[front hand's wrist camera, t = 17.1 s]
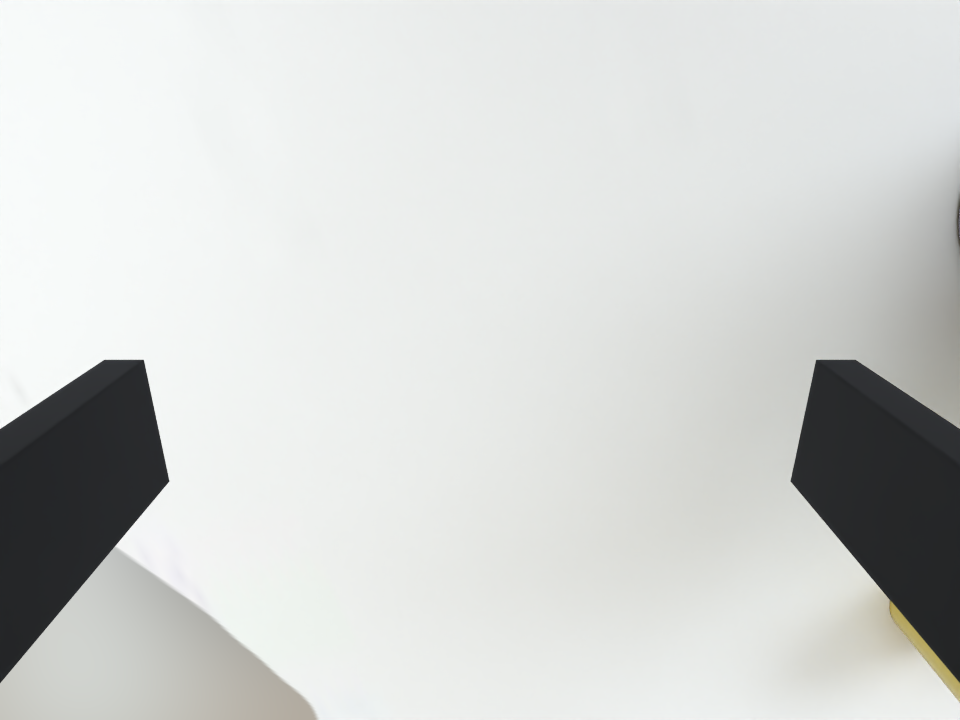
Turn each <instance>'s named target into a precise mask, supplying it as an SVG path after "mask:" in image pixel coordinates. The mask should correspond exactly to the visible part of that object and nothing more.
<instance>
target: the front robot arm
mask: <svg viewBox="0 0 960 720" xmlns="http://www.w3.org/2000/svg"><path fill="white" fill-rule="evenodd" d="M958 225H959V238H960V209H959V221H958ZM168 482H169V478H168V473H167V468H166V463H165V459H164V454H163V449H162V444H161V440H160V435H159V430H158V425H157V421H156V416H155V411H154V406H153V402H152V397H151V392H150V387H149V383H148V378H147V373H146V368H145V364H144V360H104V361H102V362H101V363H99V364H98V365H96V366H95V367H93V368H92V369H90V370H89V371H87V372H86V373H84V374H83V375H81V376H80V377H78V378H77V379H75V380H73V381H72V382H70V383H69V384H67V385H66V386H64V387H63V388H61V389H60V390H58V391H57V392H55V393H54V394H52V395H51V396H49V397H48V398H46V399H45V400H43V401H42V402H40V403H39V404H37V405H36V406H34V407H33V408H31V409H30V410H28V411H27V412H25V413H24V414H22V415H21V416H19V417H18V418H16V419H15V420H13V421H12V422H10V423H9V424H7V425H6V426H4V427H3V428H1V429H0V683H1V681H2V680H3V679H4V678H5V677H6V675H7V674H8V673H9V672H10V671H11V670H12V668H13V667H14V666H15V665H16V664H17V662H18V661H19V660H20V659H21V658H22V656H23V655H24V654H25V653H26V652H27V650H28V649H29V648H30V647H31V646H32V644H33V643H34V642H35V641H36V640H37V638H38V637H39V636H40V635H41V634H42V633H43V631H44V630H45V629H46V628H47V627H48V625H49V624H50V623H51V622H52V621H53V619H54V618H55V617H56V616H57V615H58V613H59V612H60V611H61V610H62V609H63V607H64V606H65V605H66V604H67V603H68V602H69V600H70V599H71V598H72V597H73V596H74V594H75V593H76V592H77V591H78V590H79V588H80V587H81V586H82V585H83V584H84V582H85V581H86V580H87V579H88V578H89V577H90V575H91V574H92V573H93V572H94V571H95V569H96V568H97V567H98V566H99V565H100V563H101V562H102V561H103V560H104V559H105V557H106V556H107V555H108V554H109V553H110V551H111V550H112V549H113V548H114V547H115V546H116V544H117V543H118V542H119V541H120V540H121V538H122V537H123V536H124V535H125V534H126V532H127V531H128V530H129V529H130V528H131V526H132V525H133V524H134V523H135V522H136V520H137V519H138V518H139V517H140V516H141V514H142V513H143V512H144V511H145V510H146V509H147V507H148V506H149V505H150V504H151V503H152V501H153V500H154V499H155V498H156V497H157V495H158V494H159V493H160V492H161V491H162V489H163V488H164V487H165V486H166V485H167V483H168ZM791 482H792V483H793V485H794V486H795V487H796V488H797V489H798V491H799V492H800V493H801V494H802V495H803V497H804V498H805V499H806V500H807V501H808V503H809V504H810V505H811V506H812V507H813V509H814V510H815V511H816V512H817V513H818V514H819V516H820V517H821V518H822V519H823V520H824V522H825V523H826V524H827V525H828V526H829V528H830V529H831V530H832V531H833V532H834V534H835V535H836V536H837V537H838V538H839V540H840V541H841V542H842V543H843V544H844V546H845V547H846V548H847V549H848V550H849V551H850V553H851V554H852V555H853V556H854V557H855V559H856V560H857V561H858V562H859V563H860V565H861V566H862V567H863V568H864V569H865V571H866V572H867V573H868V574H869V575H870V577H871V578H872V579H873V580H874V581H875V582H876V584H877V585H878V586H879V587H880V588H881V590H882V591H883V592H884V593H885V594H886V596H887V597H888V598H889V599H890V600H891V602H892V603H893V604H894V605H895V606H896V608H897V609H898V610H899V611H900V612H901V614H902V615H903V616H904V617H905V618H906V619H907V621H908V622H909V623H910V624H911V625H912V627H913V628H914V629H915V630H916V631H917V633H918V634H919V635H920V636H921V637H922V639H923V640H924V641H925V642H926V643H927V645H928V646H929V647H930V648H931V649H932V650H933V652H934V653H935V654H936V655H937V656H938V658H939V659H940V660H941V661H942V662H943V664H944V665H945V666H946V667H947V668H948V670H949V671H950V672H951V673H952V674H953V676H954V677H955V678H956V679H957V680H958V681H959V683H960V429H959V428H957V427H956V426H954V425H953V424H951V423H950V422H948V421H947V420H945V419H944V418H942V417H941V416H939V415H938V414H936V413H935V412H933V411H932V410H930V409H929V408H927V407H926V406H924V405H923V404H921V403H920V402H918V401H917V400H915V399H914V398H912V397H911V396H909V395H908V394H906V393H905V392H903V391H902V390H900V389H899V388H897V387H896V386H894V385H893V384H891V383H890V382H888V381H887V380H885V379H883V378H882V377H880V376H879V375H877V374H876V373H874V372H873V371H871V370H870V369H868V368H867V367H865V366H864V365H862V364H861V363H859V362H858V361H856V360H816V364H815V368H814V373H813V378H812V383H811V387H810V392H809V397H808V402H807V406H806V411H805V416H804V421H803V425H802V430H801V435H800V440H799V444H798V449H797V454H796V459H795V463H794V468H793V473H792V478H791Z"/></svg>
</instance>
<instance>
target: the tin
mask: <svg viewBox="0 0 960 720" xmlns="http://www.w3.org/2000/svg"><path fill="white" fill-rule="evenodd" d="M890 613H891V616H892V619H893V620H894V622H895V623H896V624H897V626H898V627H899V628H900V629H901V631H902V632H903V633H904V634H905V636H906V637H907V638H908V639H909V641H910V642H911V643H912V644H913V645H914V647H915V648H916V649H917V650H918V652H919V653H920V654H921V655H922V657H923V658H924V659H925V660H926V661H927V663H928V664H929V665H930V666H931V668H932V669H933V670H934V671H935V673H936V674H937V675H938V676H939V678H940V679H941V680H942V681H943V682H944V684H945V685H946V686H947V687H948V689H949V690H950V691H951V692H952V694H953V695H954V696H955V697H956V698H957V700H958V701H959V702H960V683H959V681H958V680H957V679H956V678H955V677H954V676H953V674H952V673H951V672H950V671H949V670H948V668H947V667H946V666H945V665H944V664H943V662H942V661H941V660H940V659H939V658H938V656H937V655H936V654H935V653H934V652H933V650H932V649H931V648H930V647H929V646H928V645H927V643H926V642H925V641H924V640H923V639H922V637H921V636H920V635H919V634H918V633H917V631H916V630H915V629H914V628H913V627H912V625H911V624H910V623H909V622H908V621H907V619H906V618H905V617H904V616H903V615H902V614H901V612H900V611H899V610H898V609H897V608H896V606H895V605H894V604H893V603H892V602H891V601H890Z"/></svg>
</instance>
